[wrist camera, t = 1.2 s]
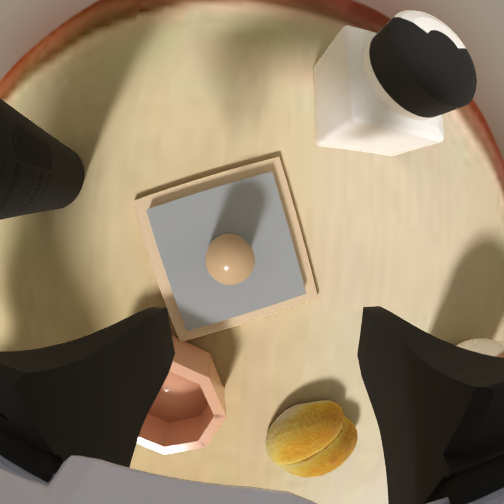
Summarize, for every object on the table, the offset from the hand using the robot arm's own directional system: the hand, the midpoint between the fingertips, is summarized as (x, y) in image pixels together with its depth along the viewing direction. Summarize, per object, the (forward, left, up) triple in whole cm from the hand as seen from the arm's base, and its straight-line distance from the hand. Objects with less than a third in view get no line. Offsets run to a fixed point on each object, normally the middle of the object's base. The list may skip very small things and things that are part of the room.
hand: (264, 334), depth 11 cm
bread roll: (+2, -17, -12) cm, 21 cm away
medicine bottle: (+13, +10, -12) cm, 20 cm away
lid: (0, +2, -12) cm, 12 cm away
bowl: (-8, -7, -12) cm, 16 cm away
